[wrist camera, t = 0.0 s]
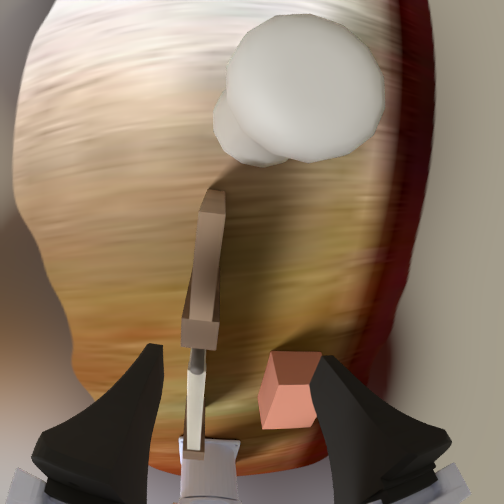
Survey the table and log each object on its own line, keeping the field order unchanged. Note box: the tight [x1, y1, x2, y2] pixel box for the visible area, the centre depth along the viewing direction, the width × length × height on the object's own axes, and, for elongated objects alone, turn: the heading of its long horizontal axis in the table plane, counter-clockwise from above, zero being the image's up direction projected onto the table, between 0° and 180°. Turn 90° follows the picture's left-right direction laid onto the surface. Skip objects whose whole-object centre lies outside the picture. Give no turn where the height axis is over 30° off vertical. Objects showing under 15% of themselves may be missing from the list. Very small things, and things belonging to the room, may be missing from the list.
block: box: [258, 351, 322, 429], centre depth 24 cm, size 7×5×4 cm
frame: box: [181, 189, 226, 461], centre depth 19 cm, size 23×2×8 cm, turn 171°
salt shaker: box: [213, 14, 385, 168], centre depth 11 cm, size 6×6×13 cm
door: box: [187, 348, 206, 450], centre depth 20 cm, size 11×1×7 cm, turn 171°
